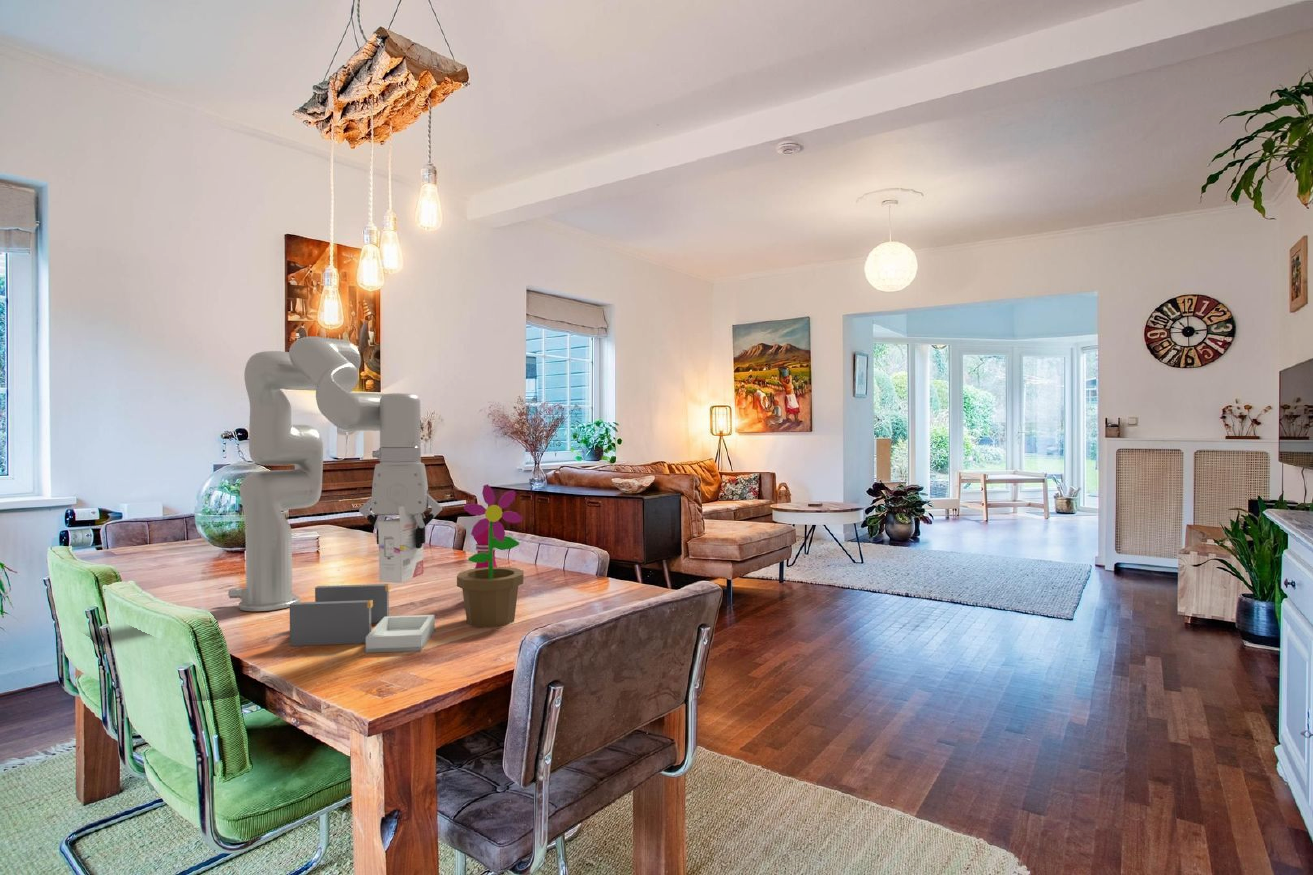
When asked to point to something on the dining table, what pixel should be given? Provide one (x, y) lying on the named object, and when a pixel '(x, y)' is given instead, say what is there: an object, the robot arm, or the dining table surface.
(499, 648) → the dining table surface
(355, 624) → the bay
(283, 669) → the dining table surface
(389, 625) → the tray
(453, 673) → the dining table surface
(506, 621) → the flowerpot
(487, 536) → the pepper mill
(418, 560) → the ink cartridge box
